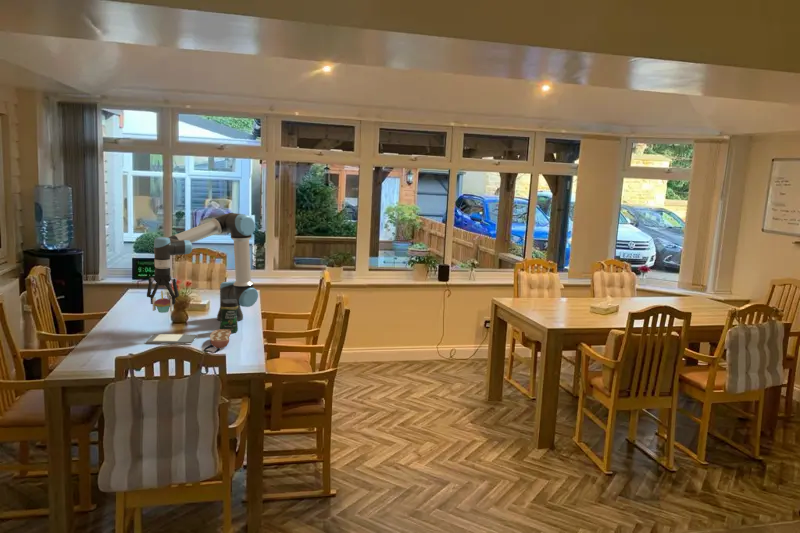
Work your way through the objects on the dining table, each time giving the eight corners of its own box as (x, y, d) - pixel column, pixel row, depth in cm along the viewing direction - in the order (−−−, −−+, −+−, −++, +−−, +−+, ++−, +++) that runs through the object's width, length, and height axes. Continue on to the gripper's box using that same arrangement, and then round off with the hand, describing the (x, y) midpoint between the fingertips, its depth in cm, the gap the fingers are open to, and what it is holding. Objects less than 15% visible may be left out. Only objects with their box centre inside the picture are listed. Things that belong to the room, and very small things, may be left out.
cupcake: (169, 313, 302) (169, 290, 300) (152, 313, 301) (151, 290, 299) (173, 309, 310) (173, 287, 309) (156, 309, 309) (156, 287, 307)
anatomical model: (228, 350, 294) (228, 340, 293) (208, 351, 291) (208, 341, 291) (231, 338, 316) (231, 329, 315) (212, 338, 313) (212, 329, 313)
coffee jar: (220, 334, 321) (220, 301, 319) (219, 330, 329) (219, 298, 326) (238, 333, 325) (238, 300, 322) (237, 329, 332) (237, 297, 330)
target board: (196, 336, 314) (196, 334, 314) (190, 344, 300) (190, 341, 300) (154, 336, 311) (153, 333, 311) (146, 343, 298) (145, 341, 297)
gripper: (138, 267, 297) (139, 311, 301) (181, 269, 299) (181, 312, 303) (143, 265, 305) (144, 308, 308) (185, 266, 307) (185, 309, 310)
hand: (163, 310), depth 306 cm, fingers closed on cupcake, 8 cm apart
